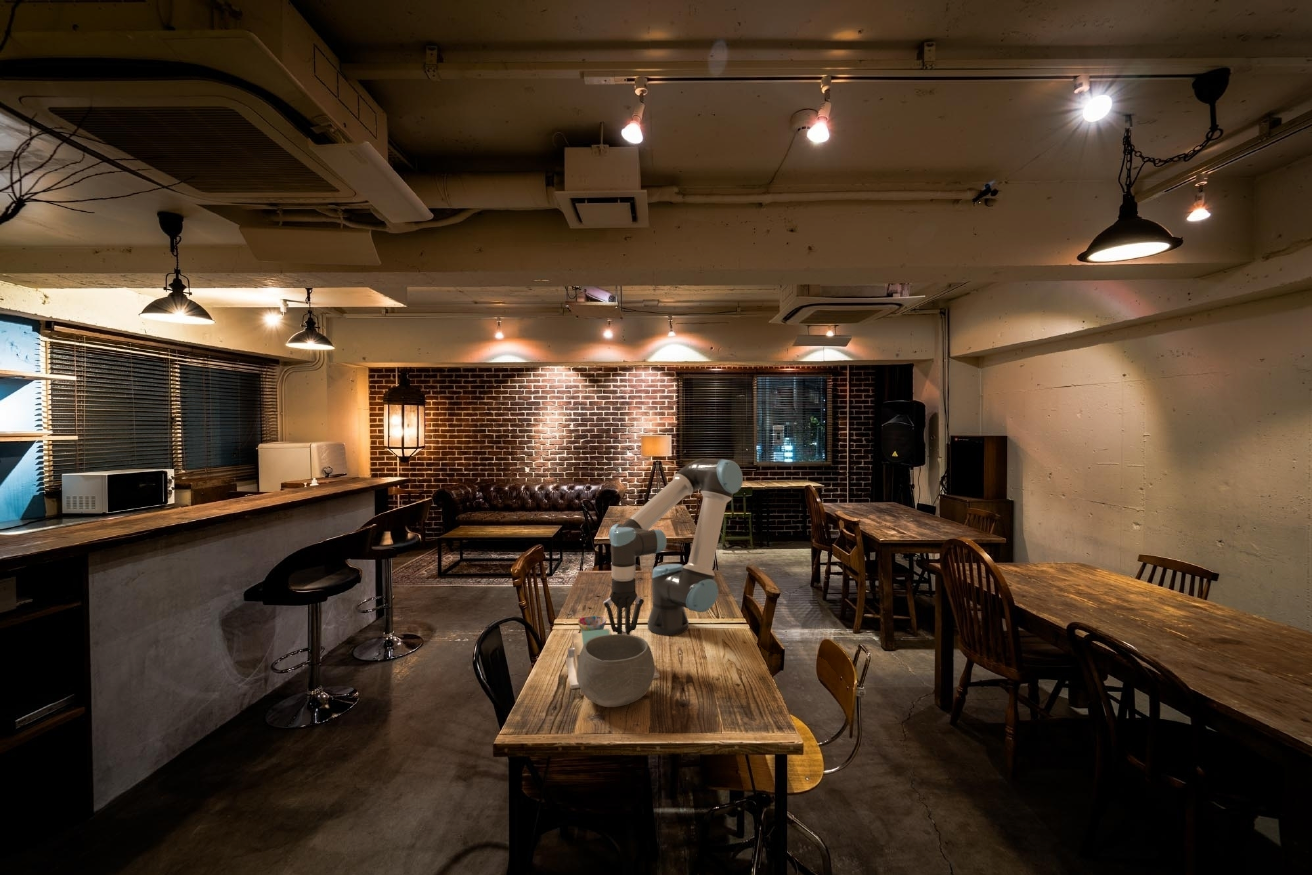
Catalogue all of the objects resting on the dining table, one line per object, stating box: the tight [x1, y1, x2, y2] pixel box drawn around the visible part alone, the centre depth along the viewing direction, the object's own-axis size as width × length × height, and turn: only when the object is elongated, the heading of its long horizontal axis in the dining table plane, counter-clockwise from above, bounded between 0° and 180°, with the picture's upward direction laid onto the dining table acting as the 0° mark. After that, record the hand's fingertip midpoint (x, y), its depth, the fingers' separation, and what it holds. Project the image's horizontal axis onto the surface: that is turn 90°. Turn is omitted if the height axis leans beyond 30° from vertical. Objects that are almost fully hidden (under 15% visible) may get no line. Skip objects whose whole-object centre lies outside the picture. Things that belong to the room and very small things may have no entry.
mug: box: [577, 615, 607, 633], centre depth 172 cm, size 12×9×11 cm
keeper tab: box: [582, 628, 610, 646], centre depth 153 cm, size 8×6×1 cm
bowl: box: [577, 633, 656, 708], centre depth 141 cm, size 21×21×15 cm
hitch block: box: [565, 629, 660, 689], centre depth 159 cm, size 26×18×9 cm
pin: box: [567, 647, 574, 658], centre depth 161 cm, size 15×5×5 cm, turn 104°
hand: (623, 652), depth 163 cm, fingers closed
